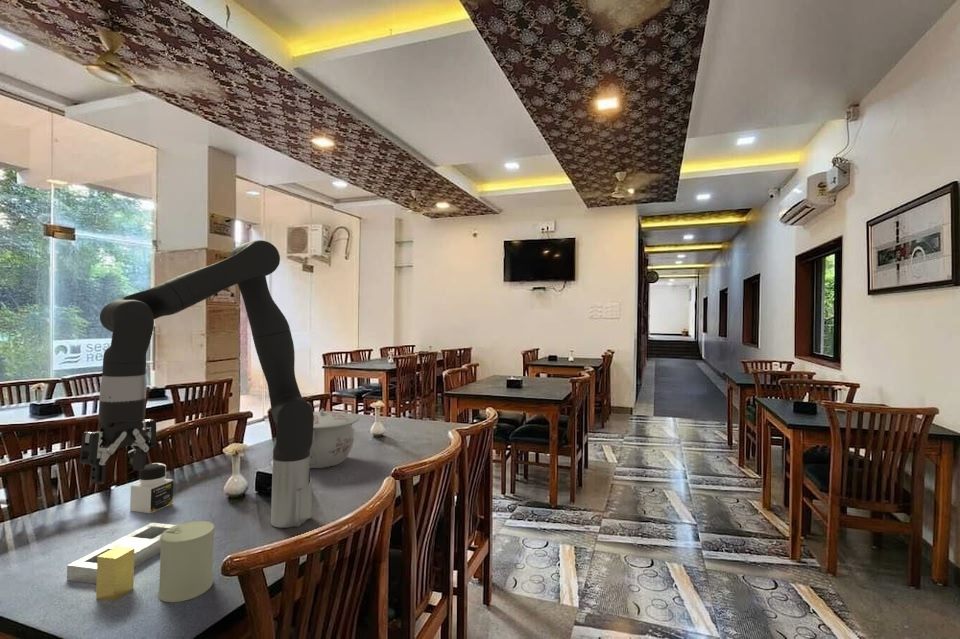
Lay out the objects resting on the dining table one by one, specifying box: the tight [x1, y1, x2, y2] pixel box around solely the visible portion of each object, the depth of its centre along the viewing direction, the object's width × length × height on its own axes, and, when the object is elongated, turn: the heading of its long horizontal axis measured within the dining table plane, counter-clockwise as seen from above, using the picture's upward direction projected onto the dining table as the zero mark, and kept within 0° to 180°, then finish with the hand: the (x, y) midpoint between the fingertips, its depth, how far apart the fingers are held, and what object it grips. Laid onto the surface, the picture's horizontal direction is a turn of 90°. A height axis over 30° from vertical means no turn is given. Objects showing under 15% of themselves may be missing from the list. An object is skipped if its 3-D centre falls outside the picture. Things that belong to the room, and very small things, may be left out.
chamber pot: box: [309, 408, 360, 469], centre depth 170 cm, size 28×28×21 cm
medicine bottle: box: [129, 462, 174, 514], centre depth 128 cm, size 7×7×12 cm
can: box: [157, 520, 215, 603], centre depth 90 cm, size 9×9×12 cm
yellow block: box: [95, 546, 135, 602], centre depth 88 cm, size 4×4×8 cm
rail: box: [66, 522, 177, 585], centre depth 101 cm, size 9×20×3 cm, turn 172°
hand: (119, 476), depth 92 cm, fingers open, 8 cm apart
